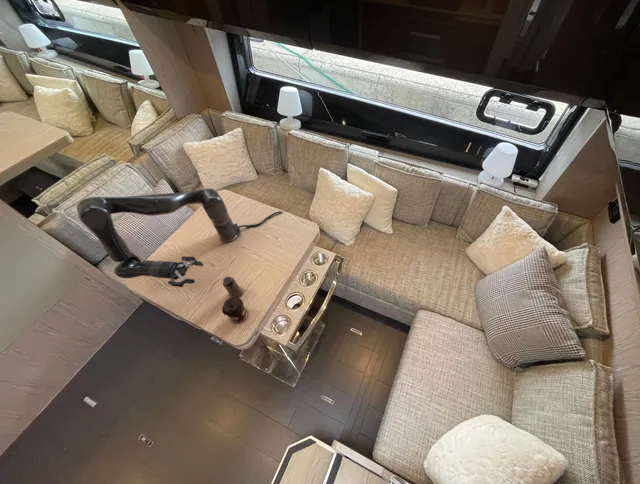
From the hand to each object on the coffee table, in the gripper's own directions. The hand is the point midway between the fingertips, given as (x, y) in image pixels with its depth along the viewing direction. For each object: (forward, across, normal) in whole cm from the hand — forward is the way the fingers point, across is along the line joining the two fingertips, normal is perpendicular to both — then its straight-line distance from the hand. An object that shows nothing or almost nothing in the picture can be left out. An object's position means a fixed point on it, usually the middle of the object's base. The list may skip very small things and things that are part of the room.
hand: (198, 272), depth 125 cm
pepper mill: (+13, -2, +16) cm, 21 cm away
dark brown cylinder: (+19, -13, +16) cm, 27 cm away
